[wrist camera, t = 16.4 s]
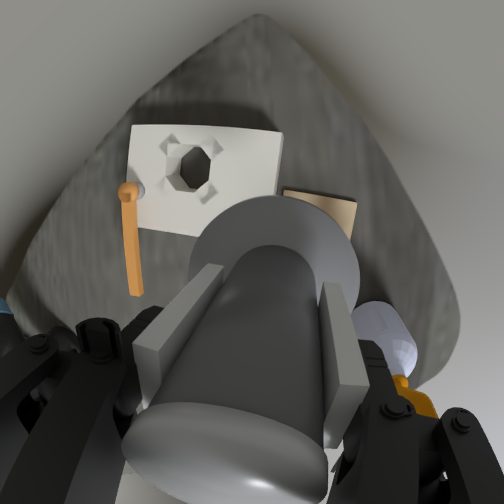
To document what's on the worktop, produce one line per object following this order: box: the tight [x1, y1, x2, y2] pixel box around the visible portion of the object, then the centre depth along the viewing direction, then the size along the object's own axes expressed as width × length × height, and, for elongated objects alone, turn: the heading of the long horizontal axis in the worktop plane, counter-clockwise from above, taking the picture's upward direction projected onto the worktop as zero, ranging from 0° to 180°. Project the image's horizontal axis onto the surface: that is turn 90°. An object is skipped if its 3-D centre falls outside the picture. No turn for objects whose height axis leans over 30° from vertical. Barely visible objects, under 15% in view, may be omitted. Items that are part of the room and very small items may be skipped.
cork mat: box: [283, 190, 357, 241], centre depth 38 cm, size 10×10×1 cm
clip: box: [118, 182, 144, 296], centre depth 35 cm, size 15×3×1 cm, turn 179°
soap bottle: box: [350, 301, 439, 419], centre depth 29 cm, size 9×9×25 cm
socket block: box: [126, 125, 284, 237], centre depth 36 cm, size 20×14×6 cm
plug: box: [121, 195, 360, 504], centre depth 12 cm, size 9×9×17 cm
